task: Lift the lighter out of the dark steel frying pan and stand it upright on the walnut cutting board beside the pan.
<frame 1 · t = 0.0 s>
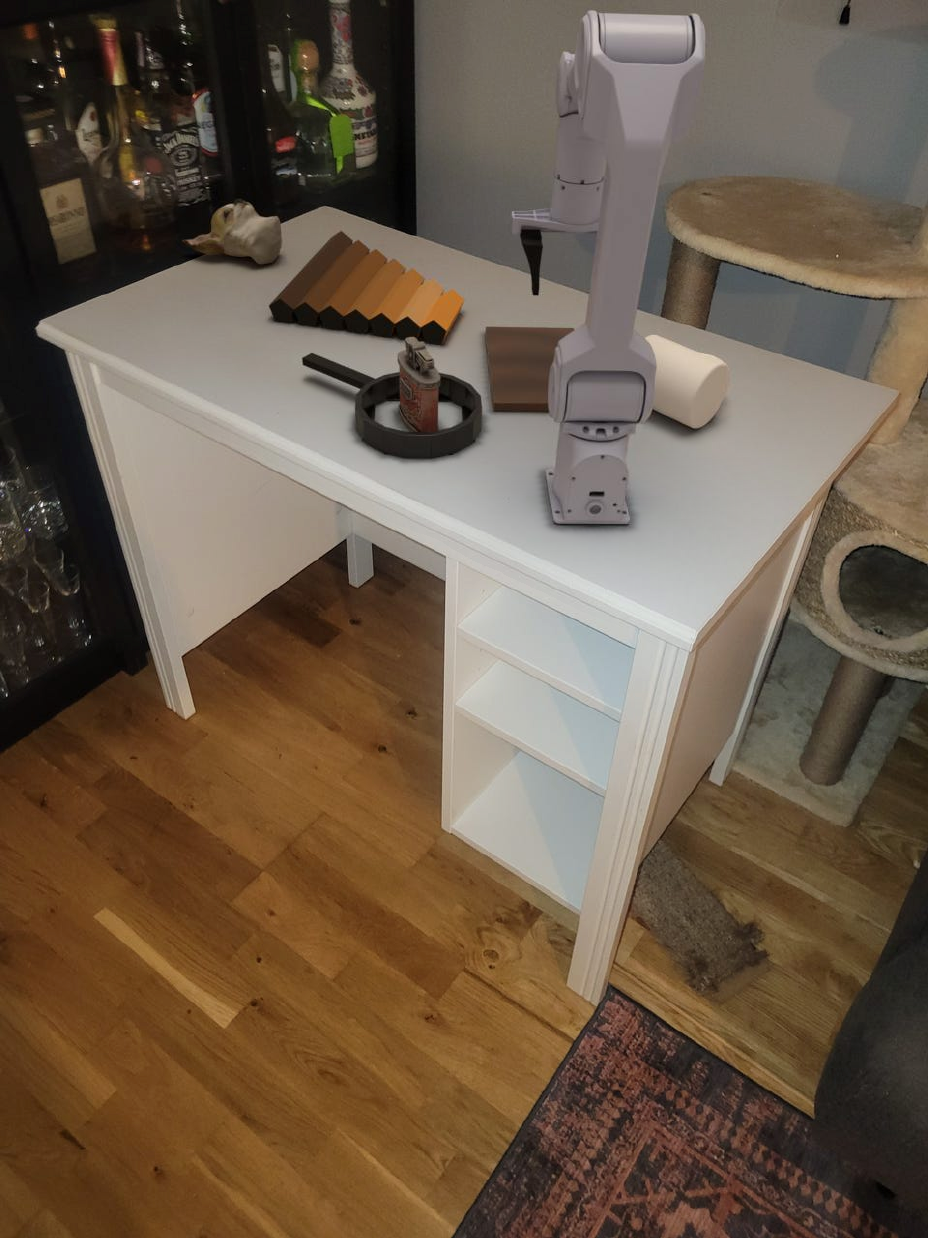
hand: (566, 292, 116), 10 cm above the table, tool pointing down, fingers open, 7 cm apart
board: (535, 371, 122), on the table
ceramic sculpture: (243, 256, 146), on the table
mug: (678, 406, 117), on the table
lighter: (418, 425, 112), resting in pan
pan flute: (384, 295, 138), on the table
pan: (418, 423, 112), on the table
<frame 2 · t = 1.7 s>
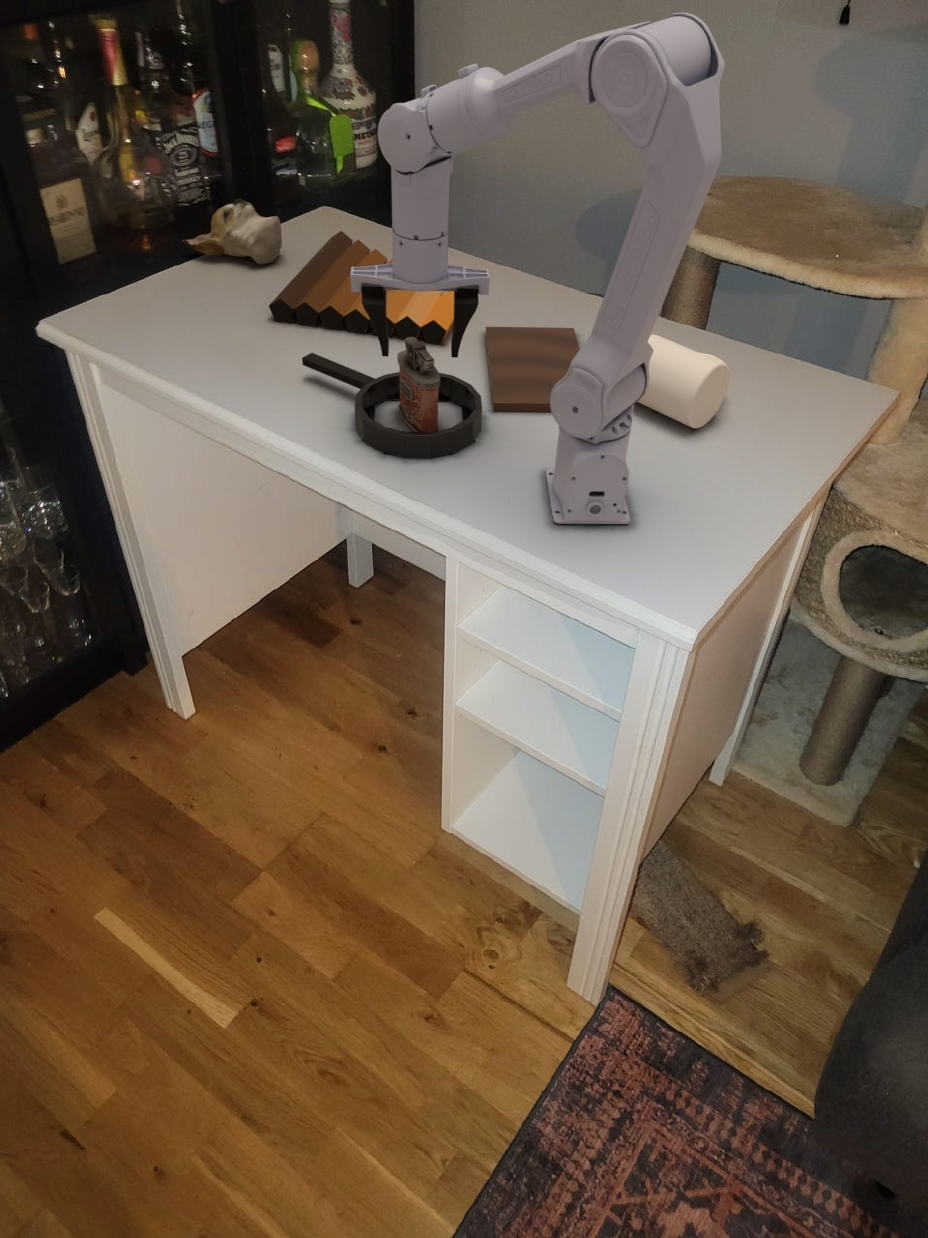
hand: (420, 352, 106), 9 cm above the table, tool pointing down, fingers open, 7 cm apart
nothing on the table moved.
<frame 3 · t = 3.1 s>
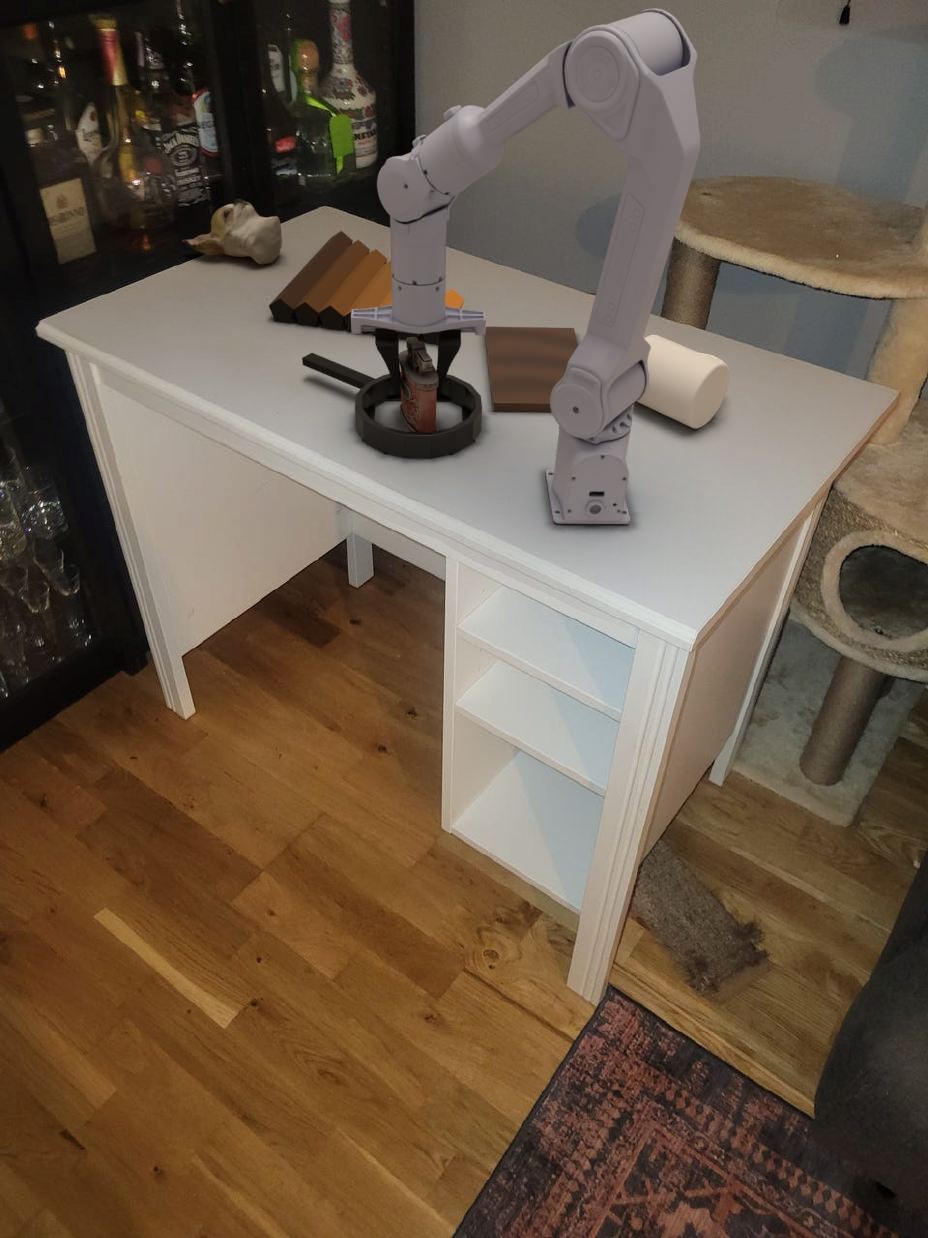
hand: (418, 390, 109), 4 cm above the table, tool pointing down, fingers closed on lighter, 4 cm apart
lighter: (418, 425, 112), resting in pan, touching gripper
everything else where it was.
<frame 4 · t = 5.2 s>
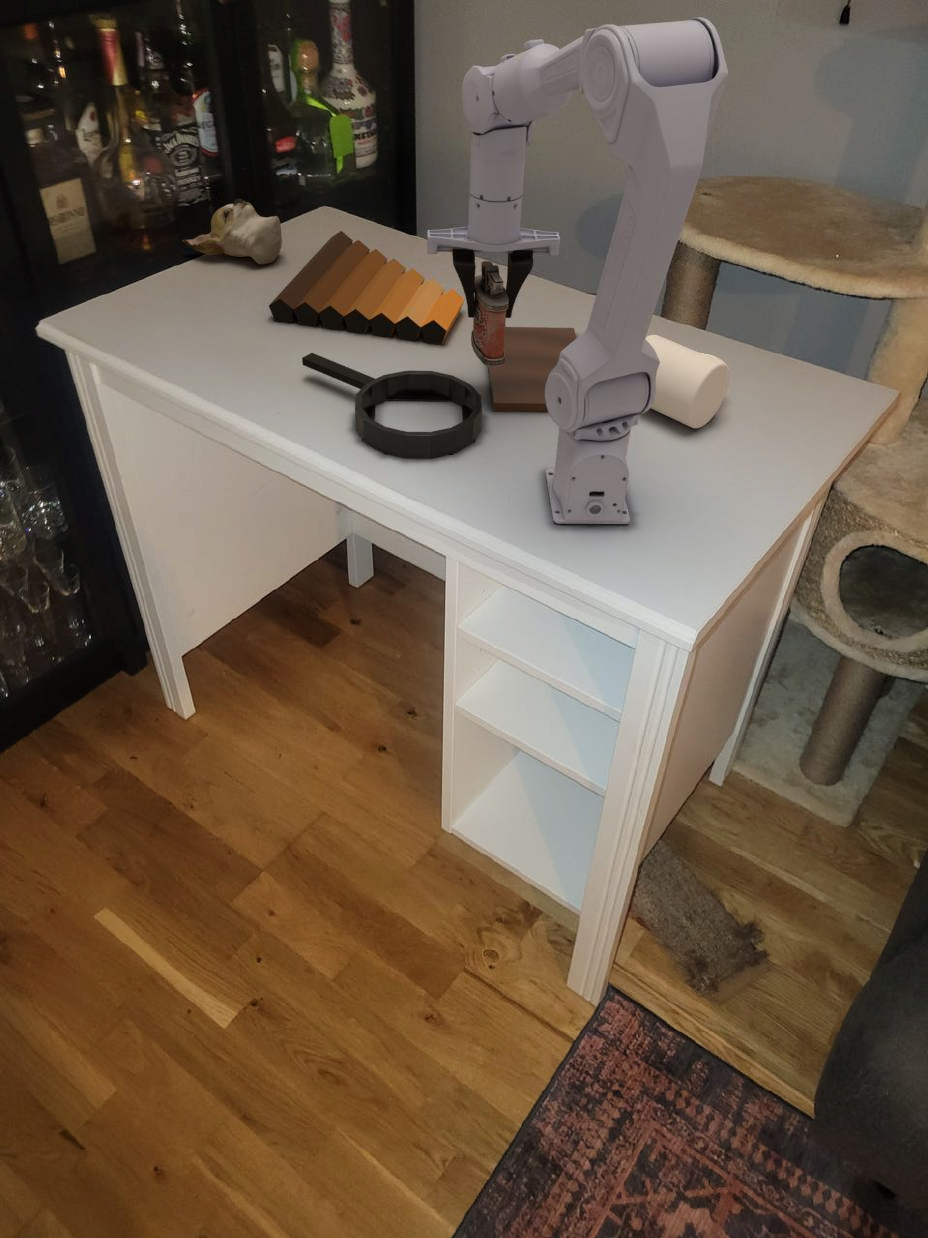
hand: (489, 313, 111), 10 cm above the table, tool pointing down, fingers closed on lighter, 3 cm apart
lighter: (487, 351, 114), point 6 cm above the table, touching gripper
everything else where it was.
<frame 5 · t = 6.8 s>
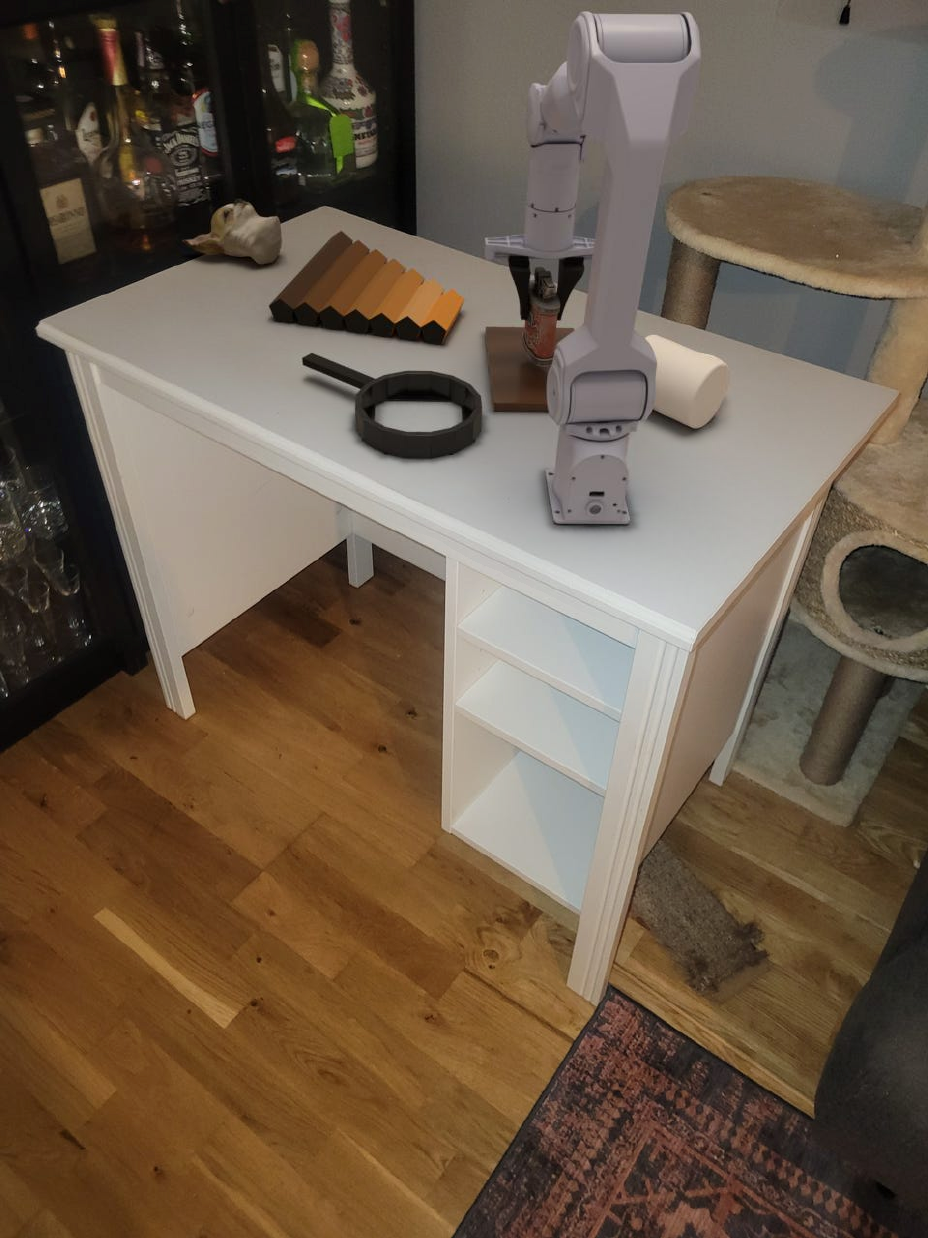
hand: (540, 316, 117), 7 cm above the table, tool pointing down, fingers closed on lighter, 3 cm apart
lighter: (537, 352, 120), point 3 cm above the table, touching gripper
everything else where it was.
when the fingers open (6 cm above the table, at t = 7.8 s): lighter stays where it is, resting on board.
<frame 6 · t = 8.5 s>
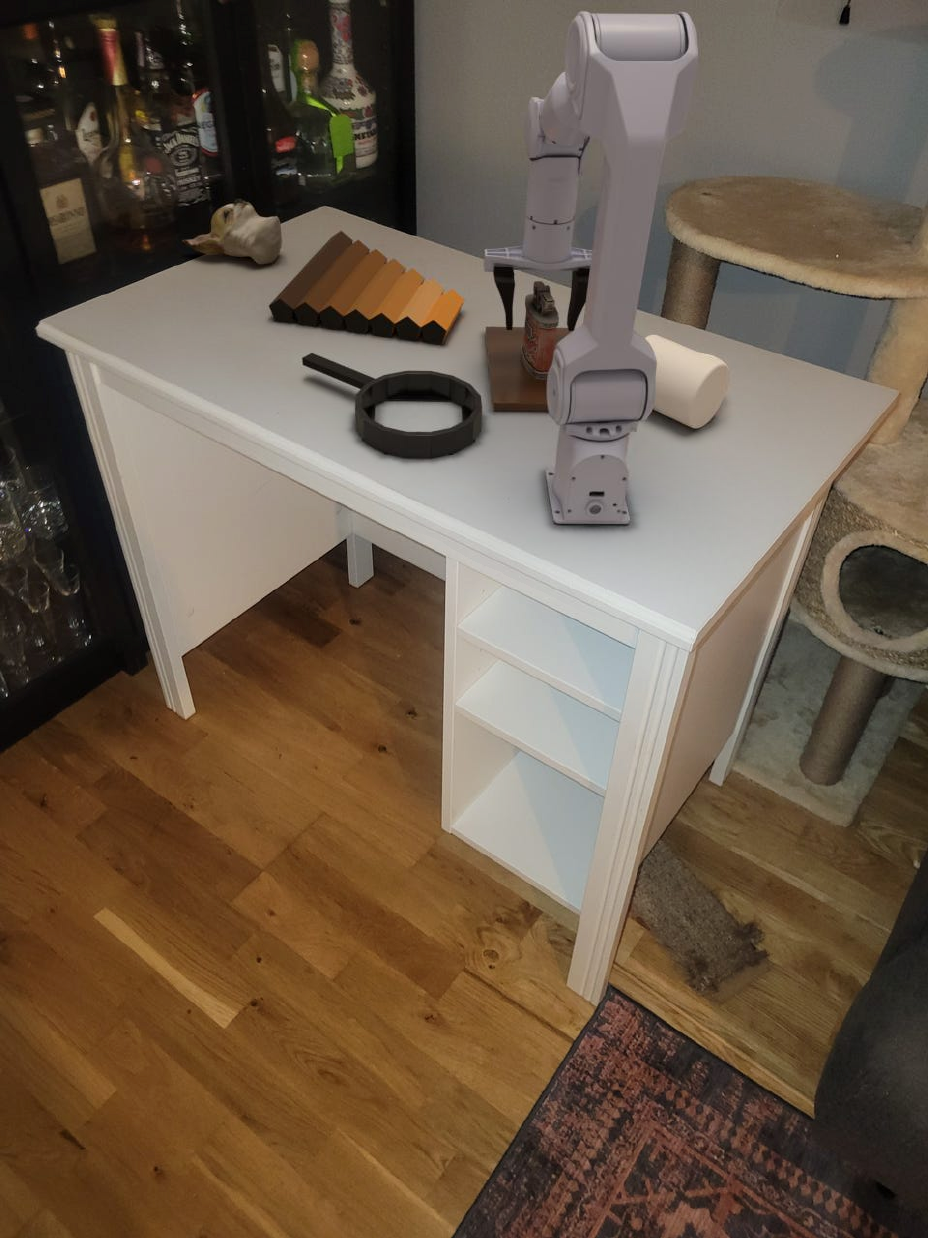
hand: (539, 326, 118), 6 cm above the table, tool pointing down, fingers open, 7 cm apart
lighter: (536, 365, 121), point 1 cm above the table, touching board
everything else where it was.
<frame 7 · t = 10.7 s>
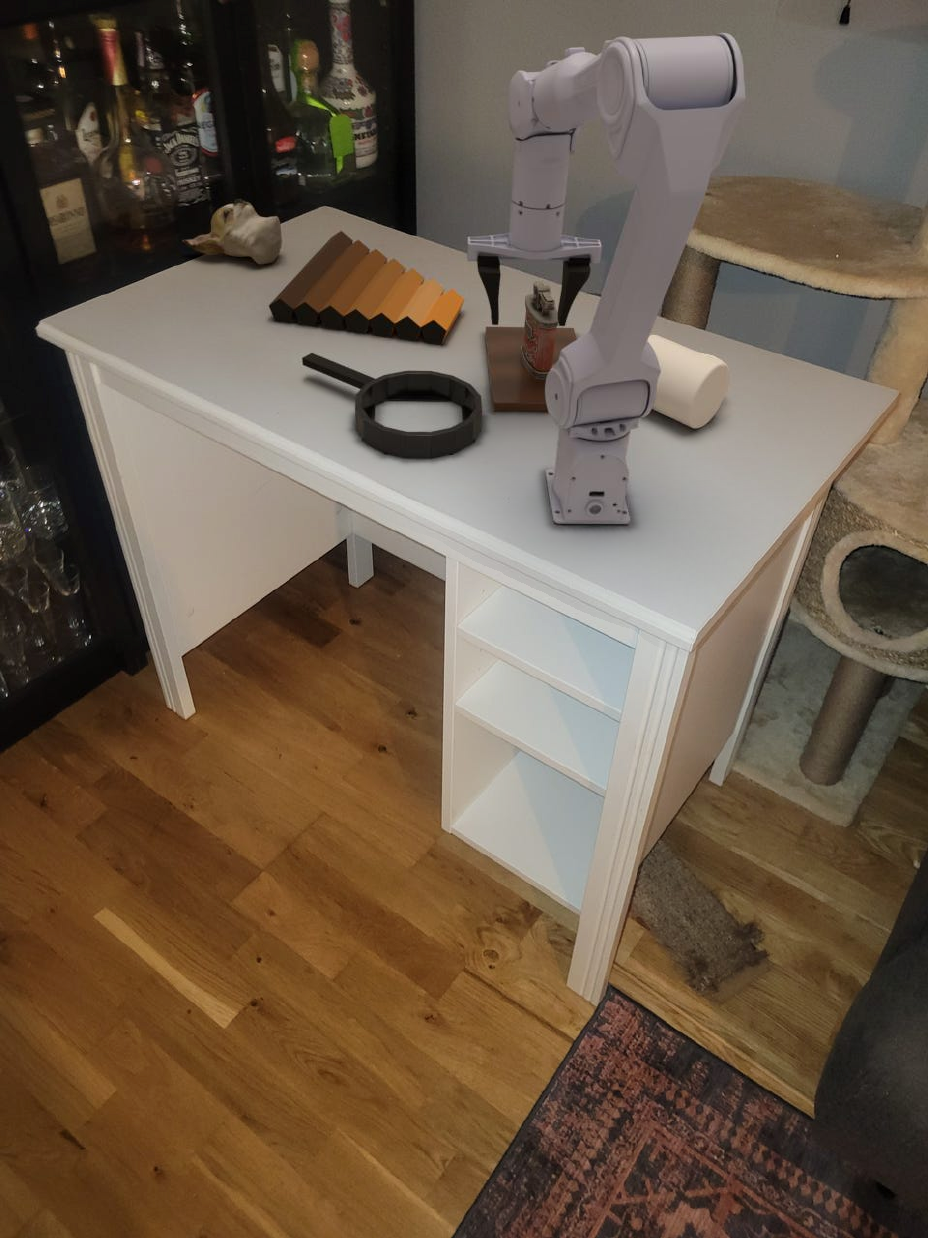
hand: (528, 321, 109), 10 cm above the table, tool pointing down, fingers open, 7 cm apart
nothing on the table moved.
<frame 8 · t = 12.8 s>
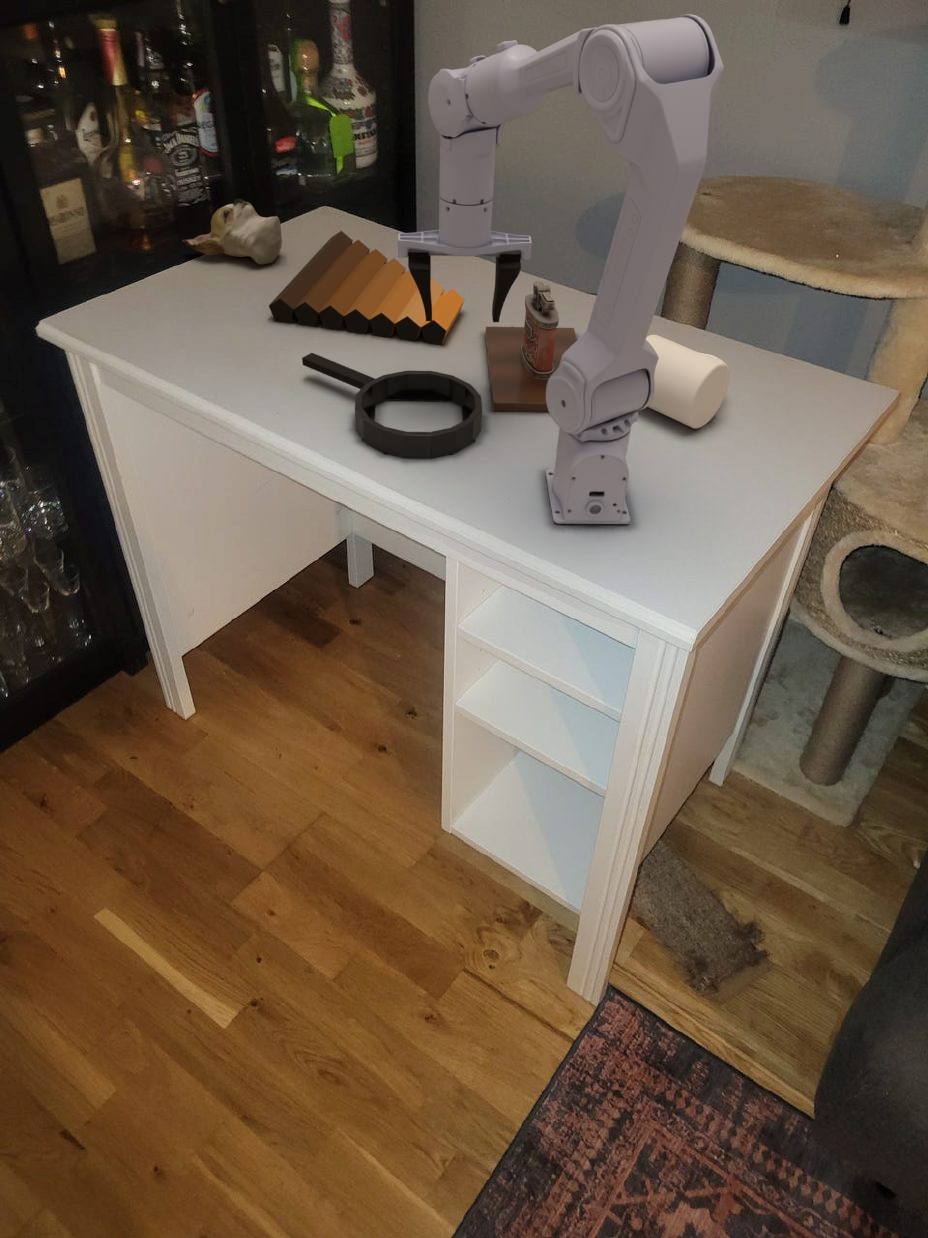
hand: (462, 317, 110), 10 cm above the table, tool pointing down, fingers open, 7 cm apart
nothing on the table moved.
at the end: lighter inside the target area on the board (0.3 cm from its centre), point 1.0 cm above the board's base; lighter tilted 0°; the gripper is holding nothing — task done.
